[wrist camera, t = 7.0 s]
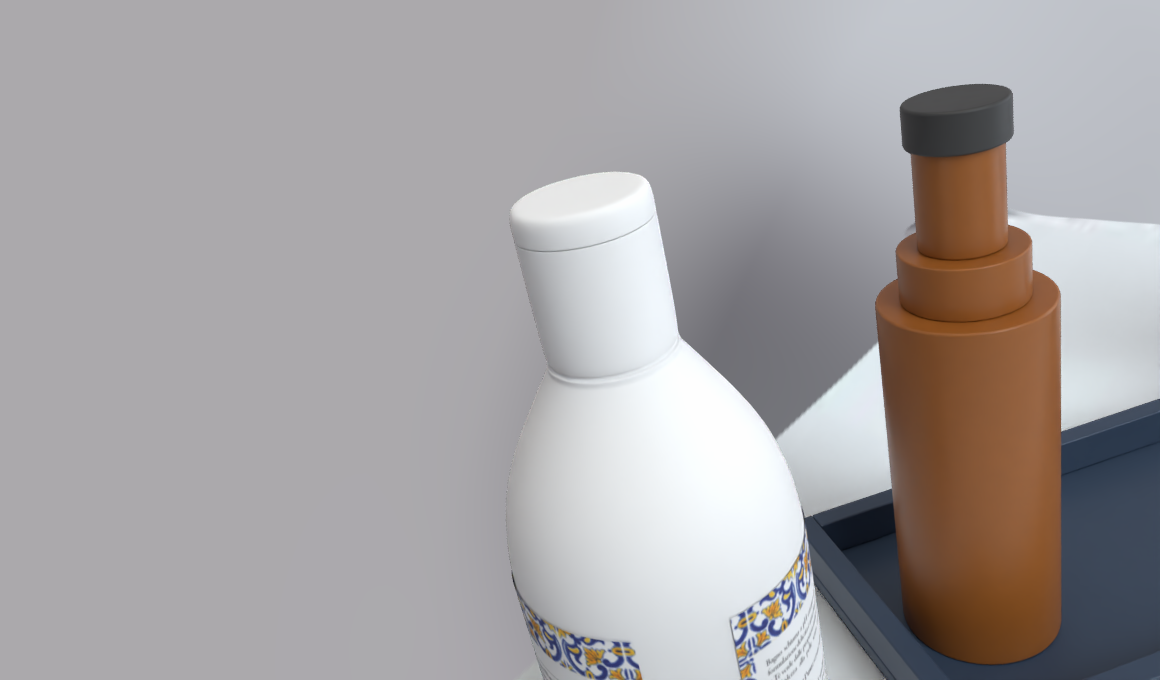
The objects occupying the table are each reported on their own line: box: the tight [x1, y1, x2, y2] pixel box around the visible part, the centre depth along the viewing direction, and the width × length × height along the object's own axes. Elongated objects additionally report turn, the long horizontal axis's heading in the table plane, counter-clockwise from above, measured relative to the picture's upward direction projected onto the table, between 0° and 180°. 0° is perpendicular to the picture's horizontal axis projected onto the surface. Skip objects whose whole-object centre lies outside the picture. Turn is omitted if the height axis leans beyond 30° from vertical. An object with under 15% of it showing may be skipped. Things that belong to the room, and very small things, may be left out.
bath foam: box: [506, 172, 828, 680], centre depth 23 cm, size 7×7×20 cm
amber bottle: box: [875, 84, 1061, 665], centre depth 29 cm, size 5×5×18 cm
